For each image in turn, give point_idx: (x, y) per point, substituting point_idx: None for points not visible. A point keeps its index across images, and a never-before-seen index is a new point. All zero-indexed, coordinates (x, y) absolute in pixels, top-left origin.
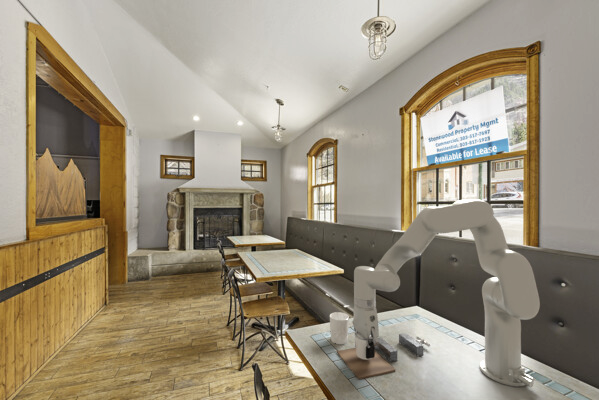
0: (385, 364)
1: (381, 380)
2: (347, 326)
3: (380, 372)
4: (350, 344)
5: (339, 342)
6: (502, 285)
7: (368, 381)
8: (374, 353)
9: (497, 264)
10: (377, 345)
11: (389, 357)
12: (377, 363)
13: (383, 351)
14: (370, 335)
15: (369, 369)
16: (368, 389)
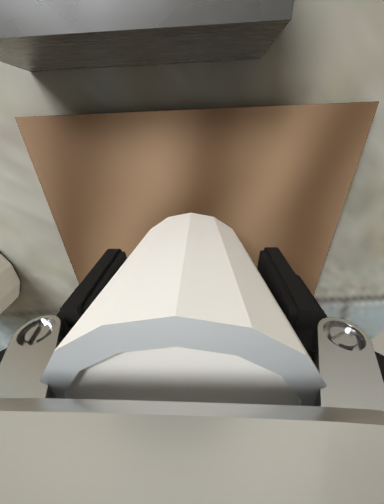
0: (289, 144)
1: (364, 245)
2: None
3: (333, 228)
4: (10, 233)
5: (13, 293)
6: None
7: (330, 297)
8: (286, 262)
9: None
10: (50, 55)
11: (255, 48)
12: (254, 194)
13: (156, 51)
14: (201, 364)
15: None
16: (365, 317)
